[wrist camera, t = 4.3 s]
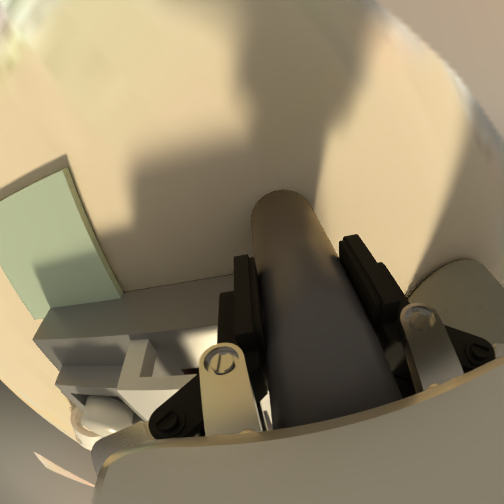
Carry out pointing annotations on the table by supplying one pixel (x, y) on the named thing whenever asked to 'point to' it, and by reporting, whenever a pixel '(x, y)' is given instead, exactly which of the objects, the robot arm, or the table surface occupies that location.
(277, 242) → the stylus
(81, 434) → the plastic part
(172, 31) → the table surface
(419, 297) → the water bottle
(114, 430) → the on button
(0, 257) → the mat
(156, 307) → the grey push-button box
